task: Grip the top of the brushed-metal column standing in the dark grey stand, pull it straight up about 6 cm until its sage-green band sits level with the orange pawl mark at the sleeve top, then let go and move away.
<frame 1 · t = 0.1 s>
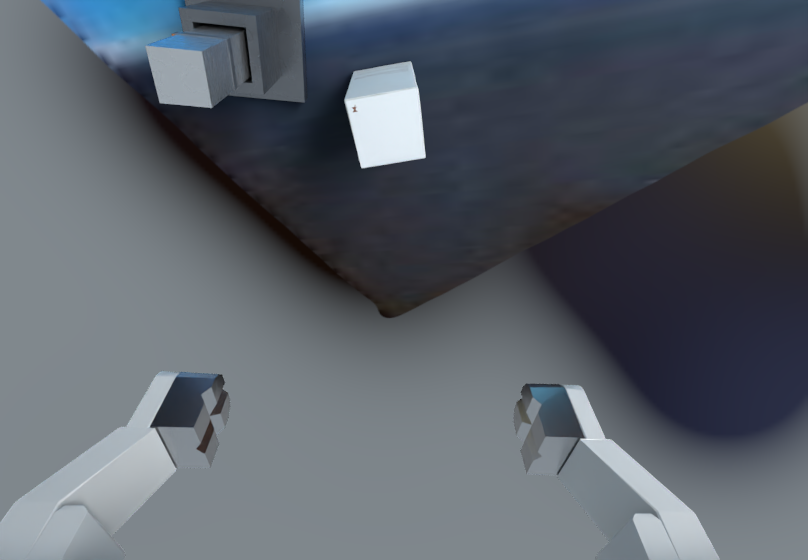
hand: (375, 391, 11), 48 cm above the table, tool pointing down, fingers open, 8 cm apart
column: (219, 56, 39), point 11 cm above the table, slide at 0.0 cm
supplement box: (387, 96, 52), on the table
stand: (252, 38, 47), on the table
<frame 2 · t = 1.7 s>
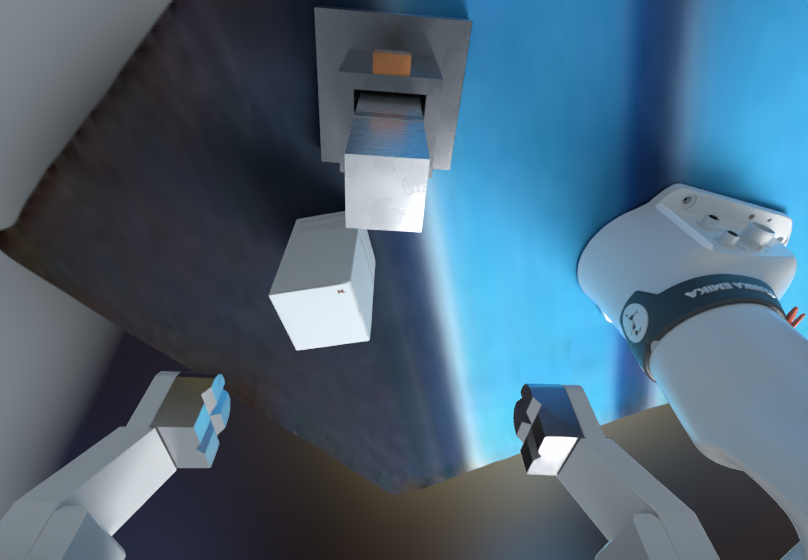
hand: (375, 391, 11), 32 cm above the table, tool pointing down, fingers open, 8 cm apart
column: (388, 134, 28), point 11 cm above the table, slide at 0.0 cm
supplement box: (337, 240, 46), on the table
stand: (390, 92, 36), on the table
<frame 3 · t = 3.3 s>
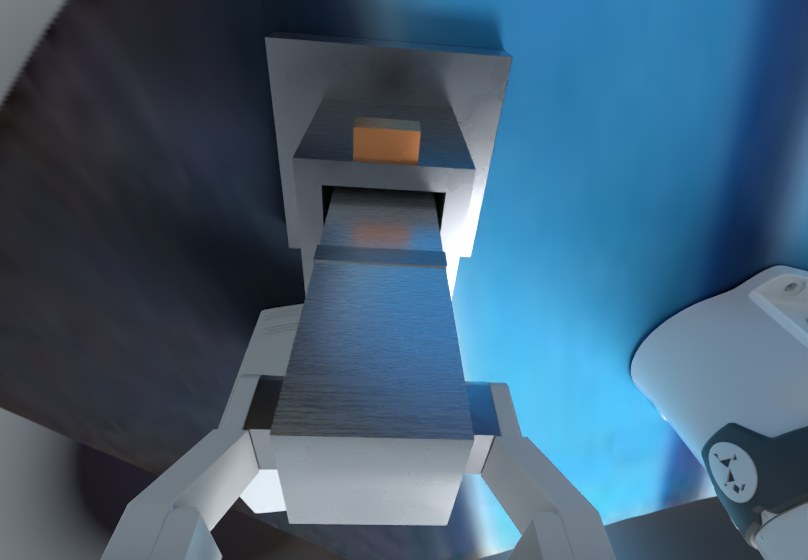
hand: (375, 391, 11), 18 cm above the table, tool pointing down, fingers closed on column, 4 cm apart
column: (381, 257, 16), point 11 cm above the table, slide at 0.0 cm, touching gripper
supplement box: (317, 332, 35), on the table
stand: (385, 152, 25), on the table
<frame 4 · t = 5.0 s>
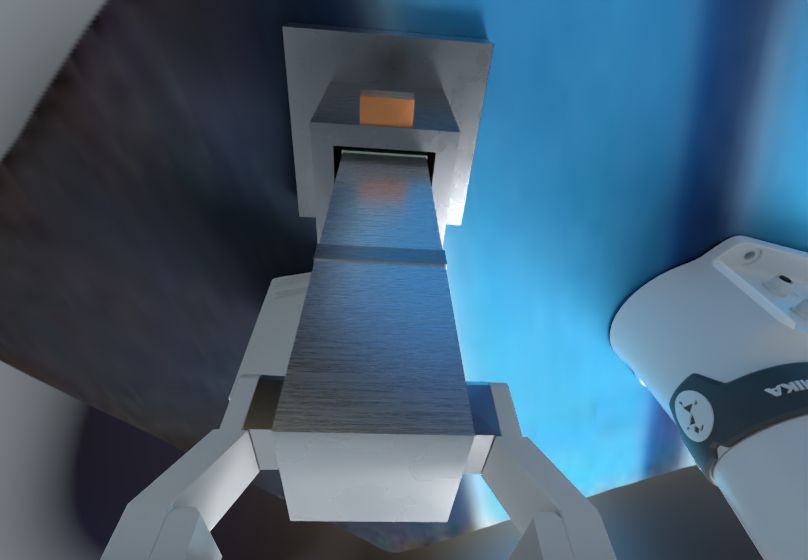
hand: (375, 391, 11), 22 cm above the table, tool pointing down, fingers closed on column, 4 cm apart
column: (380, 257, 16), point 15 cm above the table, slide at 4.2 cm, touching gripper
supplement box: (323, 300, 38), on the table
stand: (385, 130, 29), on the table
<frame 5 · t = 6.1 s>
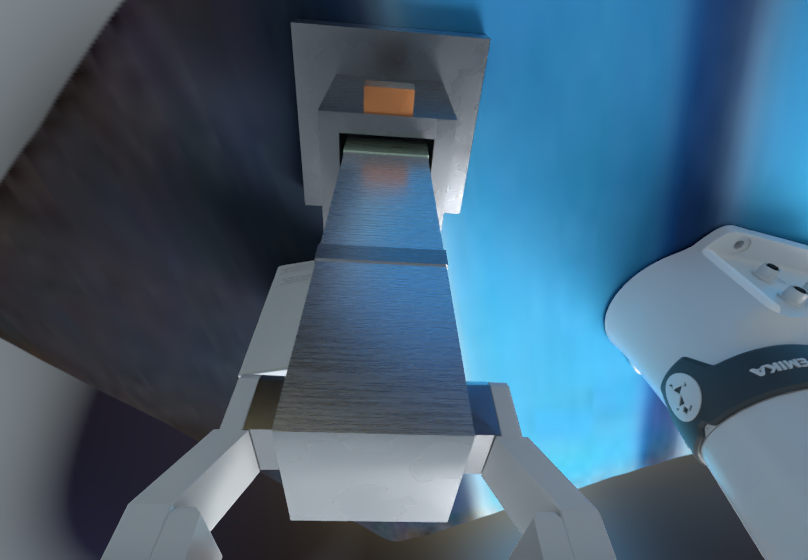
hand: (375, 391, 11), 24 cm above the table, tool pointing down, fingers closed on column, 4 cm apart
column: (381, 256, 16), point 17 cm above the table, slide at 5.9 cm, touching gripper
supplement box: (327, 288, 40), on the table
stand: (387, 122, 30), on the table
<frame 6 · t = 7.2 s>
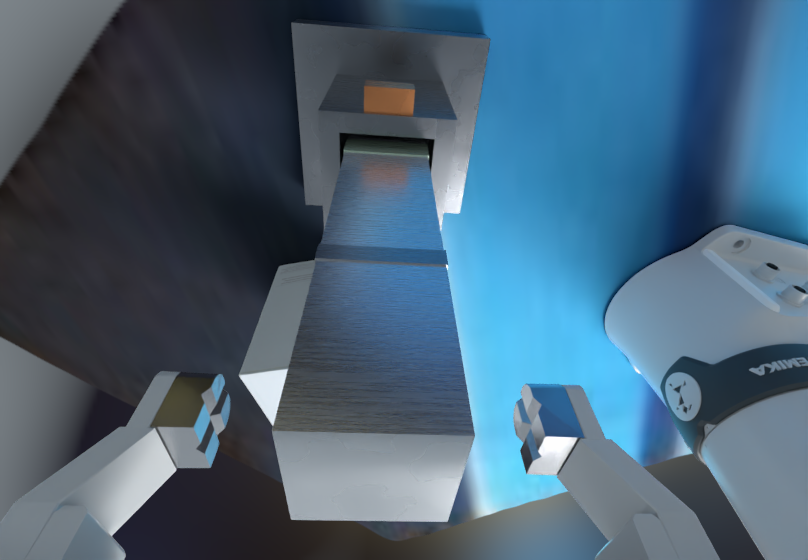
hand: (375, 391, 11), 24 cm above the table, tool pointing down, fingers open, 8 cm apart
column: (381, 256, 16), point 17 cm above the table, slide at 6.0 cm
supplement box: (327, 287, 40), on the table
stand: (387, 122, 30), on the table
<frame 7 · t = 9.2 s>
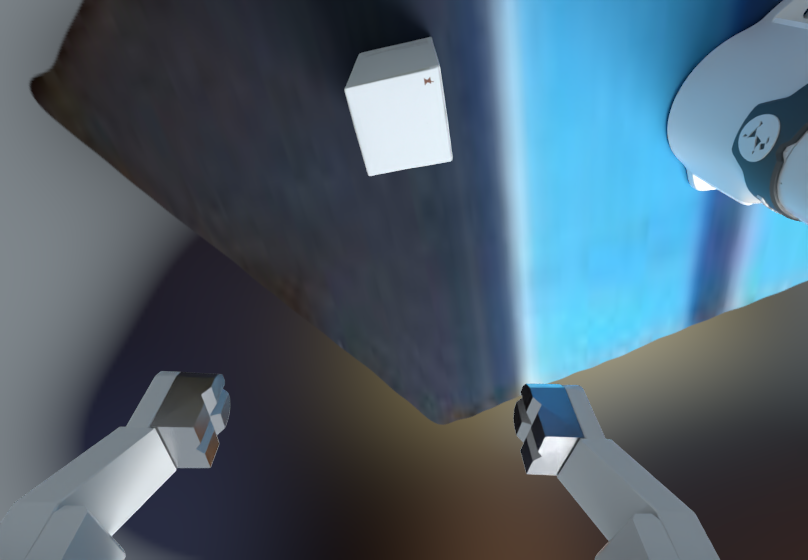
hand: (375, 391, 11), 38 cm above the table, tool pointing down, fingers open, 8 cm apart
supplement box: (401, 84, 42), on the table
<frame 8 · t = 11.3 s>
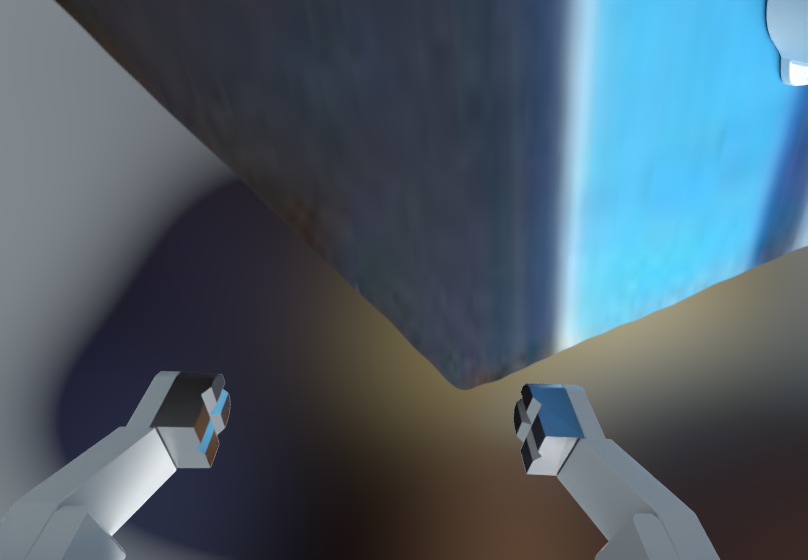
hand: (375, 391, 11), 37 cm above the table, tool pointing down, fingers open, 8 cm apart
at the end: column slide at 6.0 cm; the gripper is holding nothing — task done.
